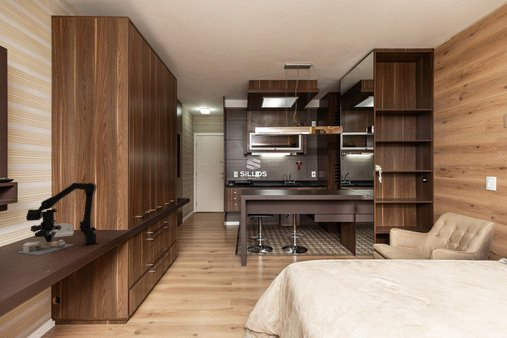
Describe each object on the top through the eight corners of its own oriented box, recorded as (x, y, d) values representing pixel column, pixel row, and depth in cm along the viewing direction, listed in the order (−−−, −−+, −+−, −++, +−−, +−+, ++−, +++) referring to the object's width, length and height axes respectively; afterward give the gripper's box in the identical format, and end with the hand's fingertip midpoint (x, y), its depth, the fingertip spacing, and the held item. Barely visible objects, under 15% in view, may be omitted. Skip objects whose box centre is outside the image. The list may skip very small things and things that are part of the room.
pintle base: (73, 245, 172) (73, 237, 172) (39, 255, 152) (38, 247, 152) (52, 243, 177) (52, 236, 177) (16, 253, 157) (16, 244, 157)
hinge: (45, 238, 191) (45, 224, 194) (46, 239, 195) (46, 225, 198) (73, 235, 199) (73, 221, 202) (74, 236, 203) (74, 222, 206)
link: (66, 245, 169) (66, 240, 169) (62, 247, 165) (62, 242, 165) (39, 246, 167) (39, 242, 167) (35, 248, 163) (35, 243, 163)
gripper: (42, 217, 175) (42, 241, 176) (24, 223, 157) (24, 250, 157) (61, 216, 178) (61, 240, 178) (45, 222, 159) (46, 248, 160)
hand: (48, 244), depth 168 cm, fingers closed
